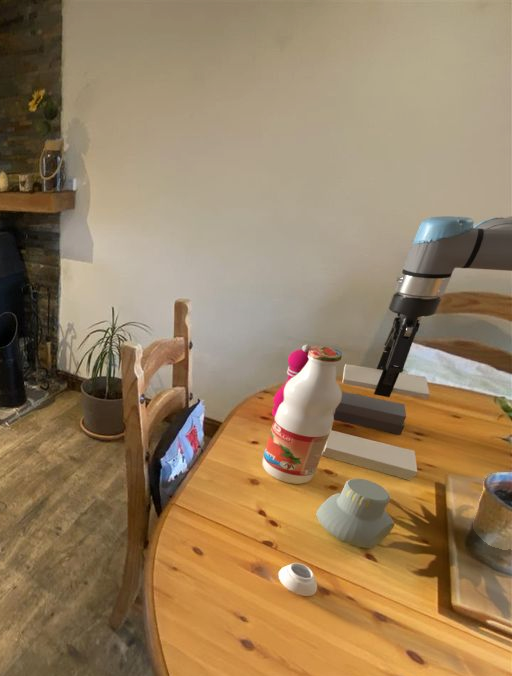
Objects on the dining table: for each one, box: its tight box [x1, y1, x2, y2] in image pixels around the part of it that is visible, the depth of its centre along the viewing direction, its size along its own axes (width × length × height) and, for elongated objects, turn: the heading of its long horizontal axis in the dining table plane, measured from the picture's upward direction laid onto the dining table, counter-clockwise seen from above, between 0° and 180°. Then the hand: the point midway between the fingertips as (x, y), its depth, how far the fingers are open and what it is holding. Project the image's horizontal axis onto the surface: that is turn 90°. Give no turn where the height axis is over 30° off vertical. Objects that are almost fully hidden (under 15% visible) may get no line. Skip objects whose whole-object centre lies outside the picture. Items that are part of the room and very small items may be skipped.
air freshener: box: [315, 478, 395, 549], centre depth 72 cm, size 11×8×10 cm
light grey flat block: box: [321, 429, 418, 481], centre depth 91 cm, size 15×8×2 cm, turn 52°
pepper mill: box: [271, 344, 312, 418], centre depth 103 cm, size 7×7×20 cm
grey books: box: [333, 391, 407, 436], centre depth 103 cm, size 13×7×5 cm, turn 52°
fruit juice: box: [261, 346, 343, 485], centre depth 83 cm, size 9×9×28 cm
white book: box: [341, 363, 431, 400], centre depth 98 cm, size 15×10×1 cm, turn 52°
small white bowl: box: [278, 562, 318, 597], centre depth 65 cm, size 5×3×5 cm
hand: (381, 385), depth 99 cm, fingers closed on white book, 10 cm apart
